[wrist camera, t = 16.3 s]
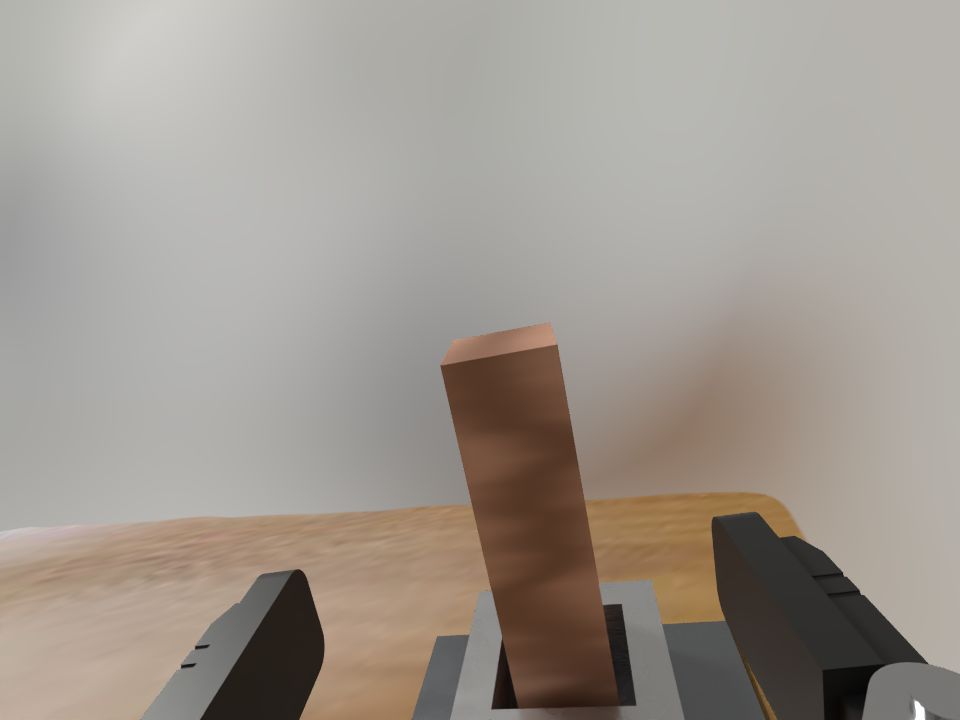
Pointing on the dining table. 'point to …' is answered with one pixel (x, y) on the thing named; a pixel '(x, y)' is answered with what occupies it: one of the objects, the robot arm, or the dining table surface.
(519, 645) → the square peg
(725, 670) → the socket base
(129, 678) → the dining table surface
